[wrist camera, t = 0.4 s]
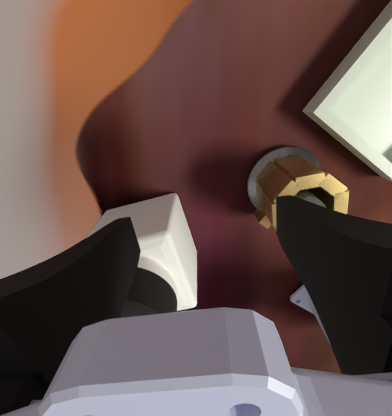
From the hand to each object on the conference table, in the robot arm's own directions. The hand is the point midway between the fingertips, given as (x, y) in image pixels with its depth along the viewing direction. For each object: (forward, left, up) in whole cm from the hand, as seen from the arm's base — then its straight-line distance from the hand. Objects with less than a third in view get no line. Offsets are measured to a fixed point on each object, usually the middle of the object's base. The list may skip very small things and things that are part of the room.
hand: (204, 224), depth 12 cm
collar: (-7, -3, -9) cm, 12 cm away
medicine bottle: (0, +8, -10) cm, 13 cm away
